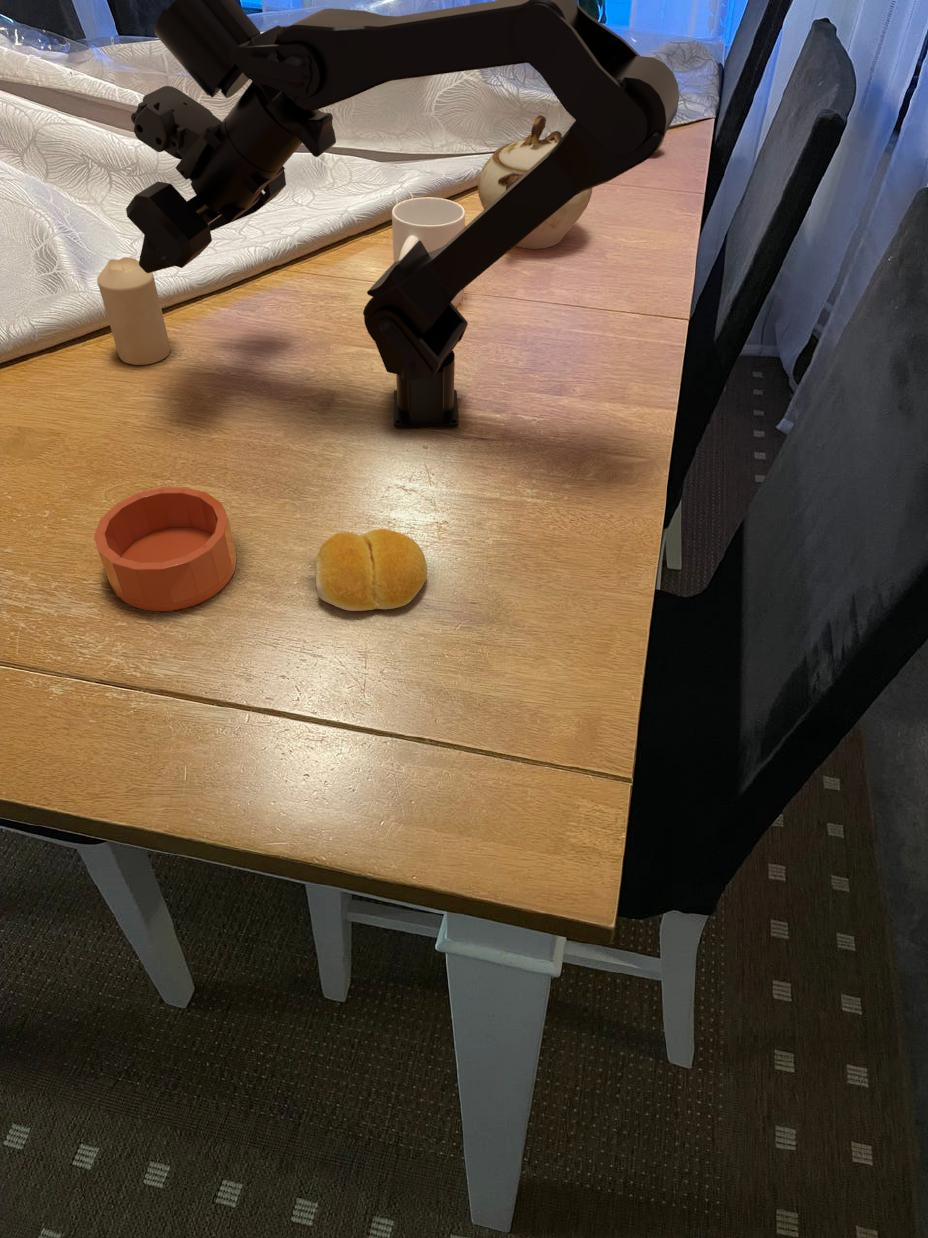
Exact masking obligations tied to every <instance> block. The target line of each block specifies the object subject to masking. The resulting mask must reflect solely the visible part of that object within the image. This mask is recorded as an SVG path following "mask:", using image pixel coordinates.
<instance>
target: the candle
mask: <svg viewBox="0 0 928 1238" xmlns="http://www.w3.org/2000/svg"><path fill="white" fill-rule="evenodd" d="M155 281H156V279H155V277H154V272H151V273H146V272H145V271H144V270H143V269H142V268H141V267H140V266H139V260H138V259H137V258H133V257H128V256H124V257H122V258H120V259H115V258H110V259H109V260H108V261H107V263H106V265H105V266H104V267H103V269H102V270H101V271H100V273H99V274H98V276H97V278H96V282H97V286H98V289H99V292H100V296H101V300H102V302H103V303H102V304H103V307H104V309H105V313H106V316H107V320H108V324H109V326H110V331H111V334H112V338H113V341H114V345H115V348H116V351H117V355H118V356H119V358H120V360H121V361H122V362H124V363H125V364H129V365H133V366H145V365H146V366H147V365H153V364H155V363H158V362H160V361H163V360H164V359H166V358H167V357H168V356H169V355H170V353H171V344H170V339H169V335H168V330H167V325H166V323H165V318H164V314H163V309H162V306H161V301H160V297H159V293H158V289H157V285H156V282H155Z"/></svg>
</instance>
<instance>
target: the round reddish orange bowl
mask: <svg viewBox="0 0 928 1238" xmlns="http://www.w3.org/2000/svg"><path fill="white" fill-rule="evenodd" d="M93 537H94V541H95V545H96V549H97V552H98V555H99V557H100V561H101V563H102V566H103V567H104V571H105V573H106V576H107V580H108V582H109V585H110V586H111V588H112V590H113V592H114V594H115V595H116V596H117V597H118V598H119V599H120V600H122V601H123V602H124V603H126V604H128V605H130V606H132V607H134V608H137V609H140V610H144V611H151V612H170V611H171V612H172V611H178V610H179V611H180V610H183V609H188V608H190V607H193V606H197V605H198V604H201V603H203V602H205V601H207V600H209V599H211V598H212V597H214V596H215V595H217V594H218V593H219V592H220V591H222V590H223V589H224V588H225V586H226V585H227V584H229V582H230V580H231V579H232V578H233V575H234V572H235V570H236V567H237V556H236V548H235V542H234V538H233V534H232V529H231V524H230V521H229V516H228V514H227V511H226V509H225V507H224V505H223V503H222V502H221V501H219V499H216V498H215V497H214V496H212V495H211V494H210V493H208V492H206V491H202V490H198V489H194V488H191V487H187V486H163V487H157V488H152V489H149V490H145V491H140V492H137V493H135V494H133V495H130V496H129V497H127V498H125V499H123V500H121V501H119V502H116V504H114V505H113V506H112V507H111V508H110V509H109V510H108V511H107V512H106V513H105V514H104V515H102V516H101V518H100V519H99V521H98V524H97V527H96V529H95V532H94V535H93Z"/></svg>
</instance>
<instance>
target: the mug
mask: <svg viewBox="0 0 928 1238" xmlns="http://www.w3.org/2000/svg"><path fill="white" fill-rule="evenodd" d="M391 226H392V227H391V229H392V230H391V231H392V255H393V263H394V262H397V261H400V260H401V259H402V258H403V257H404V256H405V255H406V254H407V253H408V252H409V251H410V250H411V248H412V247H413V246H414V245H415V244H416V243H417V242H418V241H419V240H420V241H421V242H422V244H423V245H424V247H425V248H426V250H427V252H428V253H429V252H431V251H434V250H436V249H439V248H441V247H443V246H444V245H446V244H447V243H448V242H449V241H450V240H451V239H452V238H453V237H454V236H456V235H457V234H458V233H459V232H460V231H461V230H462V229H463V228H464V227H466V210H465V209H464V207H463V205H461V204H460V203H458V202H455V201H454V200H450V199H446V198H441V197H432V196H431V197H428V196H427V197H425V196H424V197H414V198H409V199H405V200H403V201H400V202H399V203H397V204H395V205H394V206H393V208H392V210H391ZM464 289H465V288H464ZM464 289H462V290H461V291H460V292H459V293H458V294H457V295H456V296H455V298H454V299H453V300H452V301H451V303H452V304H453V305H454V307H455V308H456V307H457V306H458V305H459V304H460V303H461V302H462V299H463V297H464Z"/></svg>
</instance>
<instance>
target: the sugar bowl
mask: <svg viewBox="0 0 928 1238" xmlns="http://www.w3.org/2000/svg"><path fill="white" fill-rule="evenodd" d="M546 124H547V118H546V116H545V115H543V114H542V115H541V114H539V115H538V116H536V117H535V120H534V122H533V124H532V127H531V131H530V132H531V133H530V134H529V135H528V136H526V137H525V138H523V139H520V140H517V141H516V140H515V141H513V142H510V143H505V144H504V145H502V146H499V147H498V148H497V149H496V150H495V151H494V152H493V154H492V155H491V156H490V157H489V158H488V159H487V161H486V162H485V163H484V164H483V166H482V168H481V170H480V173H479V175H478V180H477V194H478V198H479V202H480V203H481V206H482V208H483V210H485V209H486V208H487V207H488V206H489V205H490V204H491V203H492V202H493V201H495V200H496V199H497V198H498V197H499V196H500V195H501V194H502V193H503V192H505V191H506V190H507V189H508V188H509V187H510V186H511V185H512V184H513V183H515V182H516V181H517V180H518V179H519V178H520V177H521V176H522V175H523V174H525V173H526V172H527V171H528V170H529V169H530V168H531V167H532V166H533V165H535V164H536V163H537V162H538V161H539V160H540V159H541V158H542V157H543V156H545V155H546V154H547V153H548V152H549V151H550V150H551V149H552V148H553V147H555V146H556V145H557V144H558V143H559V141H560V140H561V139H562V137H563V134H562V132H561V131H559V130H554V131H552V132H551V133H550V134H549V135H548V136H546V137H545V138H541V136H542V134H543V131H544V129H545V128H546ZM592 195H593V188H591V189H588V190H585V191H583V192H581V193H579V194H577V195H576V196H574V197H573V198H572V199H571V200H569V201H568V202H567V203H566V204H565V205H563V206H562V207H561V208H560V209H559V210H557V211H556V212H555V213H554V214H553V215H551V216H550V217H549V218H548V219H547V220H545V221H544V222H543V223H542V224H540V225H539V226H538V227H537V228H536V229H534V230H533V231H532V232H531V233H530V234H528V235H527V236H526V237H525V238H524V239H522V240H521V241H520V242H519V243H518V244H516V245H515V246H514V247H518V248H523V249H532V250H533V249H534V250H541V249H547V248H551V247H553V246H556V245H558V244H559V243H560V242H561V241H562V240H563V239H564V237H565V236H566V235H567V233H568V232H569V231H570V230H571V229H572V227H573V226H574V225H575V224H576V223H577V222H578V221H579V219H580V218H581V216H582V215H583V213H584V212H585V210H586V209H587V207H588V205H589V203H590V201H591V199H592Z"/></svg>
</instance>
